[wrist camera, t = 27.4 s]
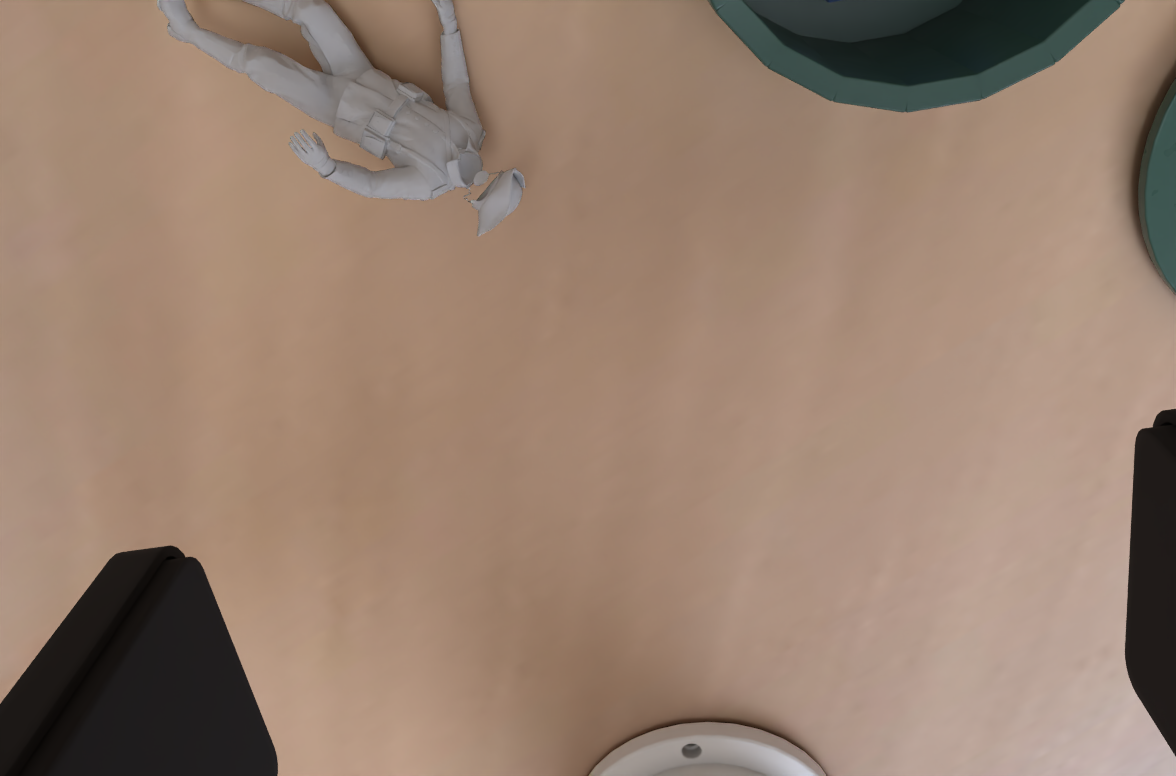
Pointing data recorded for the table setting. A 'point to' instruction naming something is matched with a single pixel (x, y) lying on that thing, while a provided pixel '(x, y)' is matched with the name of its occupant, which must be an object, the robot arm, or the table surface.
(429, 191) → the soldier figure
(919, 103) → the tin
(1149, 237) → the lid
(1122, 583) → the table surface
